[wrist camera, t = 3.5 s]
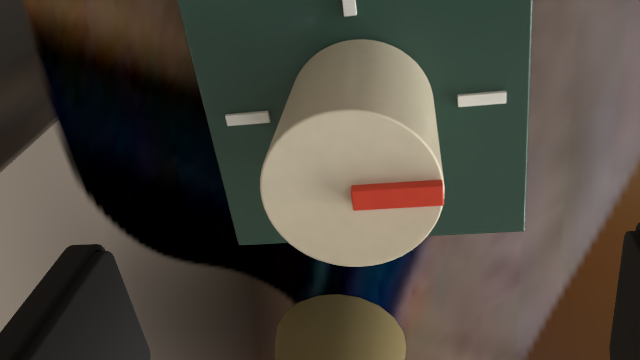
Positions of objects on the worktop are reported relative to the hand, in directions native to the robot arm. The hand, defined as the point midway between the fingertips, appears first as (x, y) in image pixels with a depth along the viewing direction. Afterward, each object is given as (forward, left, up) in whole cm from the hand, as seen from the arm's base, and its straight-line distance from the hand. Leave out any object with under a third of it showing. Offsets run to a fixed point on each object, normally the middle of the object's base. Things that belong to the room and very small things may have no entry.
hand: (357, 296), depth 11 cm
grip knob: (0, 0, -9) cm, 9 cm away
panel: (0, 0, -12) cm, 12 cm away
